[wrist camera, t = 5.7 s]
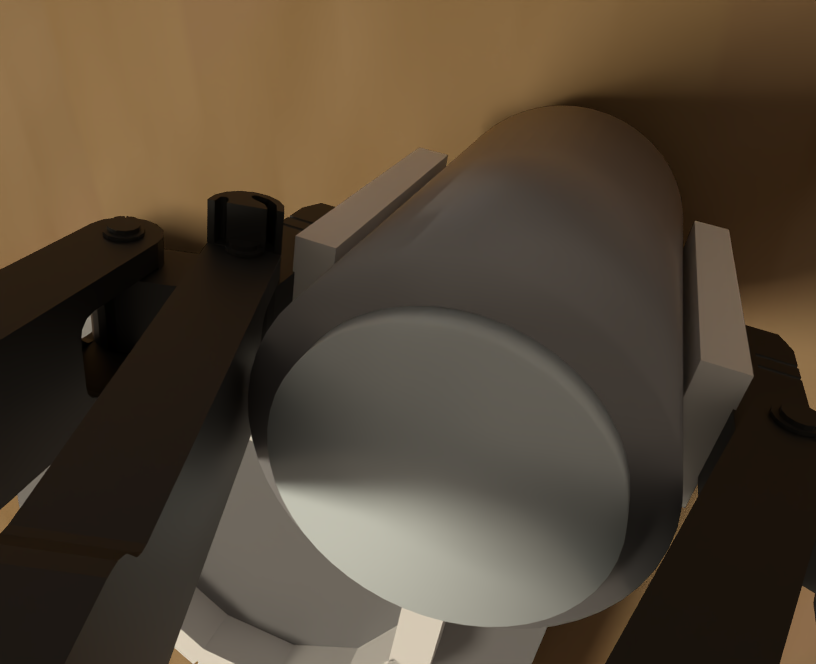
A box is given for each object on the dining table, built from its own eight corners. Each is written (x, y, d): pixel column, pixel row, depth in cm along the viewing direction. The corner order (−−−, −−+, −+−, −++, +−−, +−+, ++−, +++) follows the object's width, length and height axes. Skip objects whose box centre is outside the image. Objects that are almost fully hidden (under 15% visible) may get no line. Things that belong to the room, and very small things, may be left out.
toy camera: (126, 498, 31) (28, 591, 26) (109, 230, 24) (-27, 292, 19) (514, 663, 27) (479, 806, 22) (620, 398, 20) (602, 524, 16)
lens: (427, 294, 20) (224, 558, 11) (469, 79, 17) (234, 212, 8) (635, 359, 18) (591, 716, 10) (723, 140, 15) (777, 378, 7)
